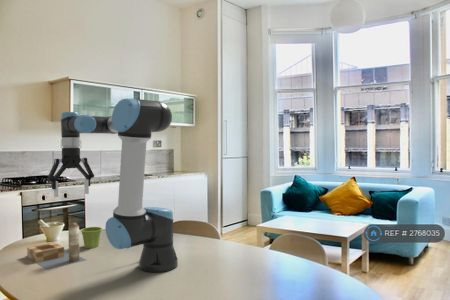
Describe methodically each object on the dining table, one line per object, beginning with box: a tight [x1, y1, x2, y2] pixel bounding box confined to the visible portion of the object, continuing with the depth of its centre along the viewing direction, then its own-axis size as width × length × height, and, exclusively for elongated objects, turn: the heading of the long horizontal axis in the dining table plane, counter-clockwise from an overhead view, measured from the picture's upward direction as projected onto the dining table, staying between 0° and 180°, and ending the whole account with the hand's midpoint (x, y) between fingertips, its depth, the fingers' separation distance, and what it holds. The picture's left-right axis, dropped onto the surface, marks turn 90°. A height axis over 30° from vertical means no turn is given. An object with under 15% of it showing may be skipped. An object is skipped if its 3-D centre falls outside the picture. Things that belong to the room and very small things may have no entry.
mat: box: [24, 249, 87, 270], centre depth 160 cm, size 24×16×1 cm, turn 46°
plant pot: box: [80, 226, 103, 249], centre depth 178 cm, size 9×9×9 cm
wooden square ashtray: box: [26, 241, 65, 263], centre depth 162 cm, size 11×11×4 cm
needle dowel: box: [68, 222, 80, 263], centre depth 157 cm, size 4×4×16 cm
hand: (71, 195), depth 170 cm, fingers open, 13 cm apart
